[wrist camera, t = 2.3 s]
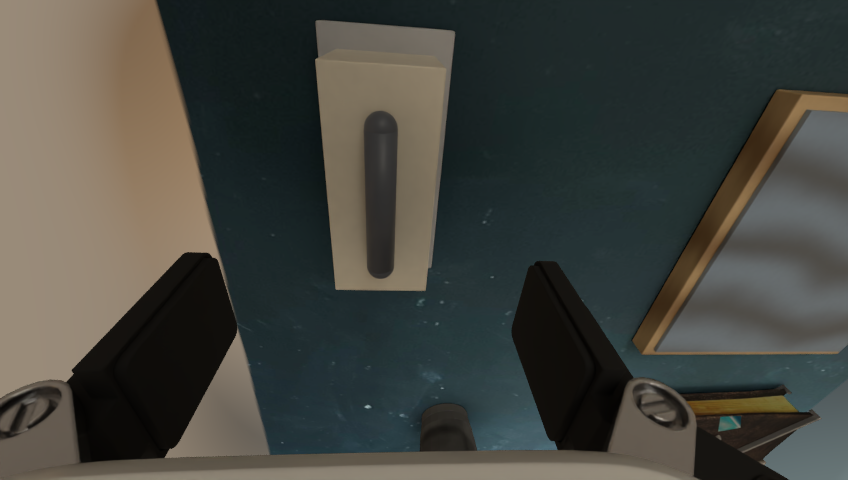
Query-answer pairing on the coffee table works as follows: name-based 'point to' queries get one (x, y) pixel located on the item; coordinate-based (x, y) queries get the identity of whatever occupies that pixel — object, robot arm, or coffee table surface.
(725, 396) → the book
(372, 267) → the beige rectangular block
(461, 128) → the coffee table surface
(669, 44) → the coffee table surface
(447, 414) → the beverage cup
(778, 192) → the board
